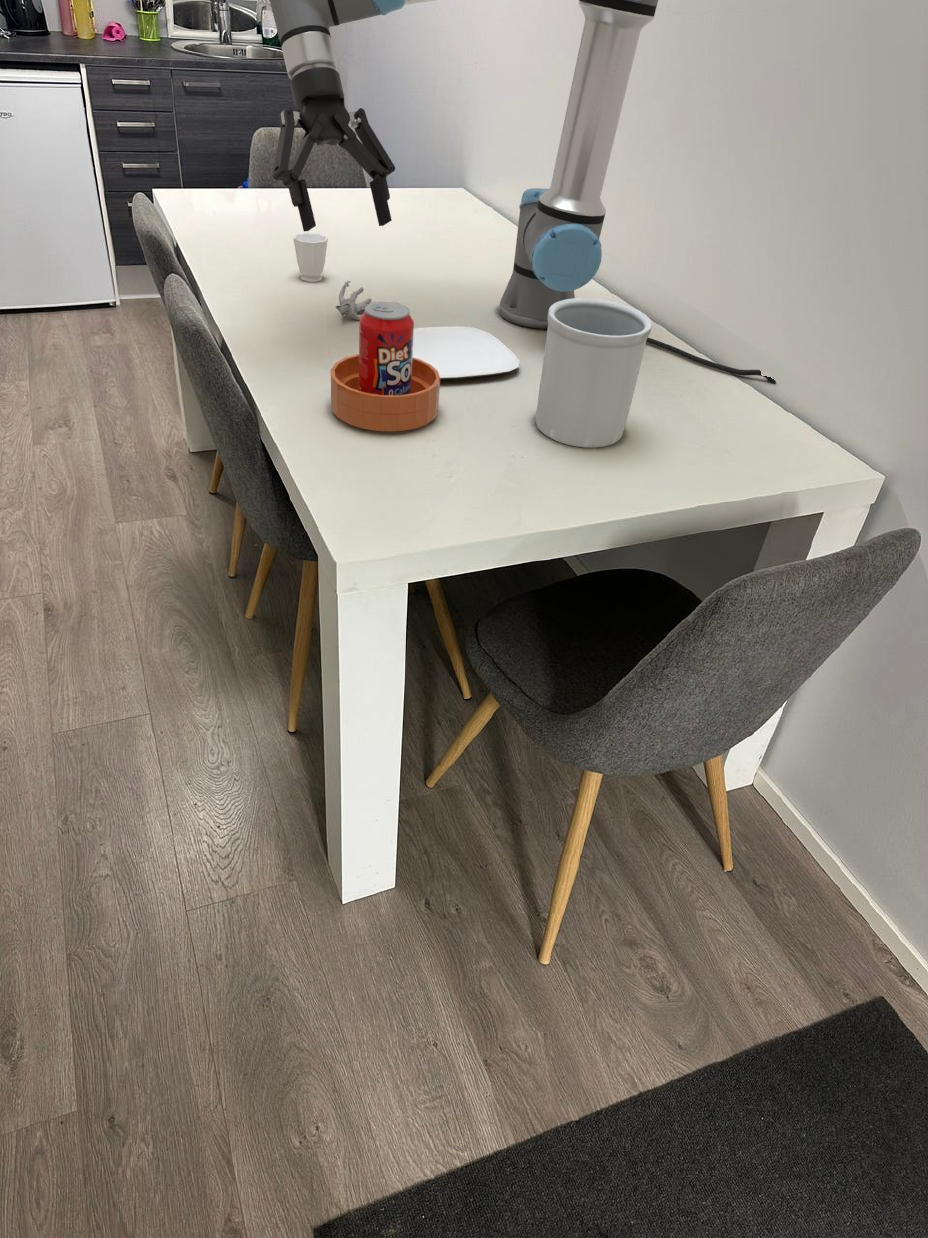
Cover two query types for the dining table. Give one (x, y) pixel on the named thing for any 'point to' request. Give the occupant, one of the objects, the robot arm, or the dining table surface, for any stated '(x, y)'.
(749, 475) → the dining table surface
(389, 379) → the soda can
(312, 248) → the cup
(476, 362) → the plate
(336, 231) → the dining table surface
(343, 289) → the soldier figure
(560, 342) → the utensil holder
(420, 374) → the bowl
